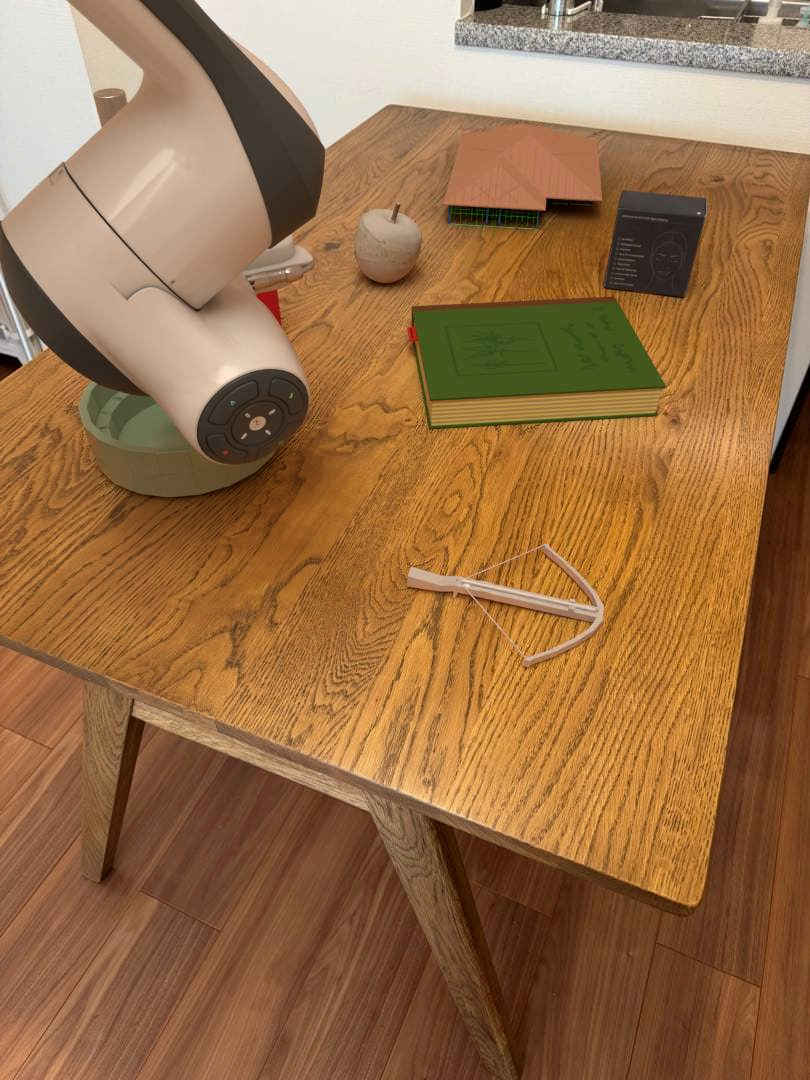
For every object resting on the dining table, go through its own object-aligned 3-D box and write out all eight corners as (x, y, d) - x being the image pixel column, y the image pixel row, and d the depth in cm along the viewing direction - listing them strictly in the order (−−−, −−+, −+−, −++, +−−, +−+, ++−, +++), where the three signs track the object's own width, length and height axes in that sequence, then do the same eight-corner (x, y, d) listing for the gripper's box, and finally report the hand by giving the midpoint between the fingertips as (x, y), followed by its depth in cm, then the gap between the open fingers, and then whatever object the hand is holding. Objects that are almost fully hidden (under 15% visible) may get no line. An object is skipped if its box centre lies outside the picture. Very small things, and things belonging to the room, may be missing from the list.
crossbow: (603, 569, 68) (609, 553, 66) (593, 689, 59) (600, 673, 58) (424, 531, 70) (426, 514, 68) (389, 641, 61) (390, 625, 60)
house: (593, 154, 136) (601, 102, 130) (599, 235, 113) (609, 177, 107) (462, 147, 138) (465, 96, 133) (442, 226, 115) (444, 168, 110)
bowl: (159, 532, 70) (143, 481, 66) (64, 439, 80) (44, 389, 75) (320, 443, 79) (315, 393, 75) (217, 369, 89) (208, 322, 84)
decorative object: (341, 277, 104) (337, 202, 97) (391, 258, 108) (390, 184, 101) (384, 302, 99) (382, 224, 92) (434, 280, 103) (437, 204, 96)
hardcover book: (608, 324, 95) (614, 296, 93) (657, 416, 82) (666, 386, 80) (405, 335, 94) (405, 306, 91) (422, 429, 81) (422, 399, 78)
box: (686, 276, 104) (708, 196, 97) (685, 299, 100) (707, 218, 92) (606, 266, 106) (621, 187, 99) (601, 288, 102) (616, 208, 94)
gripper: (319, 228, 55) (257, 164, 64) (17, 290, 49) (-6, 210, 58) (326, 309, 60) (267, 239, 69) (50, 376, 54) (23, 290, 62)
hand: (140, 226), depth 63 cm, fingers closed on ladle, 2 cm apart
